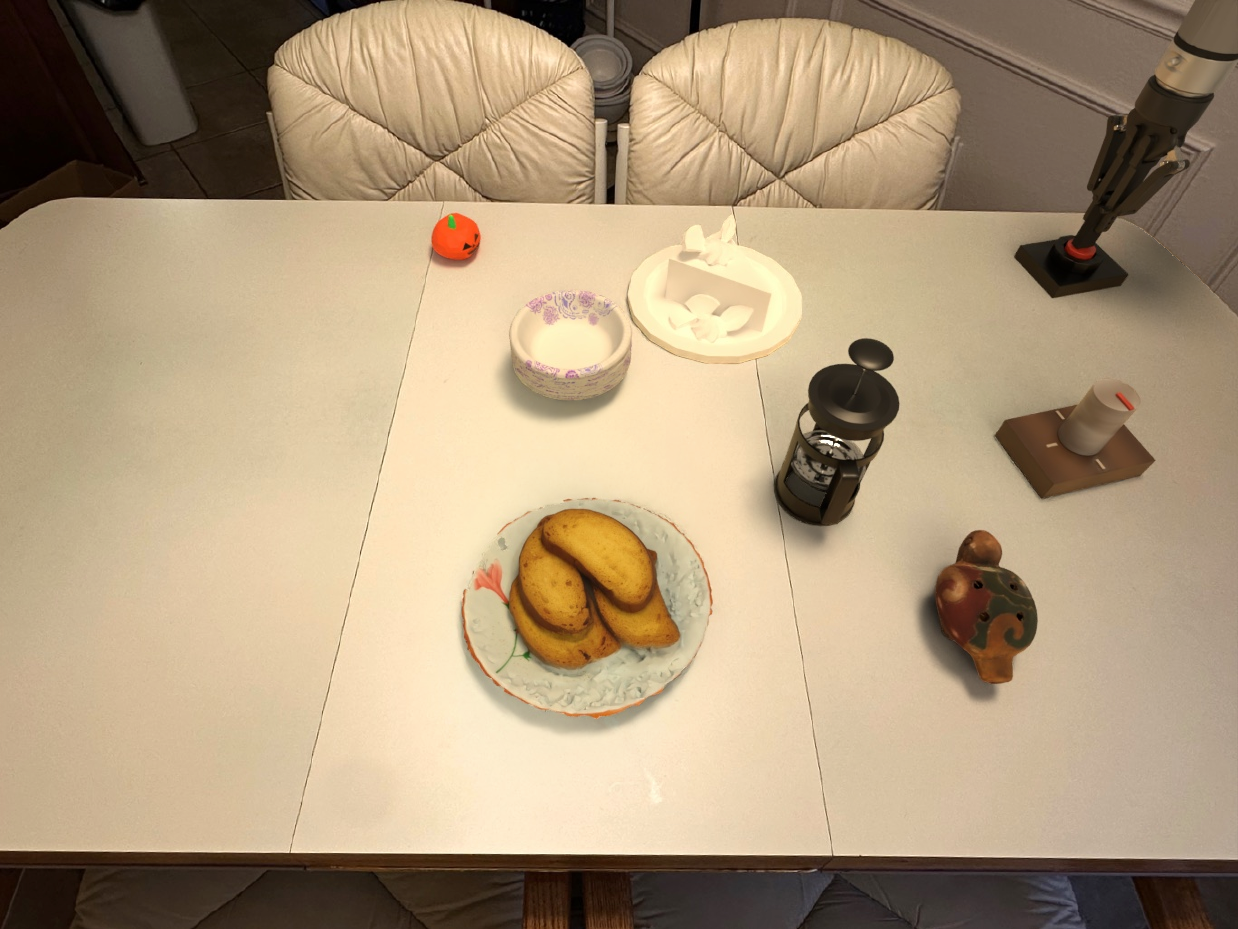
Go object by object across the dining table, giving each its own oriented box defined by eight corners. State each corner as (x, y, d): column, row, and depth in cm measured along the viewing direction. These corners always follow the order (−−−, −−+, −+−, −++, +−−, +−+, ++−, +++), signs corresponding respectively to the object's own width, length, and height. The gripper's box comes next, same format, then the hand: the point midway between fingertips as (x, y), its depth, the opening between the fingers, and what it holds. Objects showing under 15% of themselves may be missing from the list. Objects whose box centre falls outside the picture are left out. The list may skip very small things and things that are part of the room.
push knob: (1077, 247, 113) (1084, 236, 111) (1094, 264, 110) (1102, 252, 109) (1055, 251, 112) (1062, 240, 110) (1071, 268, 110) (1078, 256, 108)
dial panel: (1089, 414, 96) (1102, 398, 93) (1141, 475, 90) (1156, 459, 87) (994, 435, 93) (1005, 418, 91) (1041, 498, 87) (1054, 483, 85)
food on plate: (435, 703, 71) (422, 677, 66) (498, 492, 86) (492, 458, 81) (700, 744, 69) (708, 721, 64) (717, 522, 84) (725, 489, 79)
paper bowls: (531, 429, 92) (526, 385, 85) (502, 347, 100) (496, 301, 94) (646, 401, 95) (650, 357, 89) (609, 324, 104) (610, 278, 97)
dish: (592, 294, 107) (592, 227, 98) (714, 228, 117) (724, 162, 108) (713, 391, 96) (725, 326, 87) (836, 309, 107) (858, 243, 98)
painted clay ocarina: (988, 557, 82) (1026, 522, 76) (1032, 694, 74) (1080, 669, 67) (903, 555, 82) (935, 521, 75) (938, 694, 73) (977, 669, 67)
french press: (768, 455, 90) (812, 310, 72) (845, 456, 90) (909, 312, 72) (781, 538, 83) (833, 401, 65) (864, 539, 83) (940, 403, 65)
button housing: (1079, 245, 117) (1093, 224, 114) (1120, 286, 111) (1136, 264, 108) (1013, 256, 115) (1025, 234, 112) (1052, 298, 109) (1065, 276, 106)
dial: (1049, 427, 90) (1085, 380, 83) (1084, 420, 91) (1122, 372, 84) (1074, 459, 87) (1113, 413, 81) (1110, 451, 88) (1152, 404, 82)
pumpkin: (483, 234, 115) (478, 198, 110) (480, 267, 110) (475, 231, 105) (436, 235, 115) (429, 198, 109) (431, 268, 110) (423, 231, 105)
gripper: (1123, 61, 94) (1034, 222, 113) (1196, 113, 86) (1087, 276, 105) (1172, 55, 95) (1076, 215, 114) (1248, 106, 88) (1132, 268, 106)
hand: (1082, 244), depth 109 cm, fingers closed
